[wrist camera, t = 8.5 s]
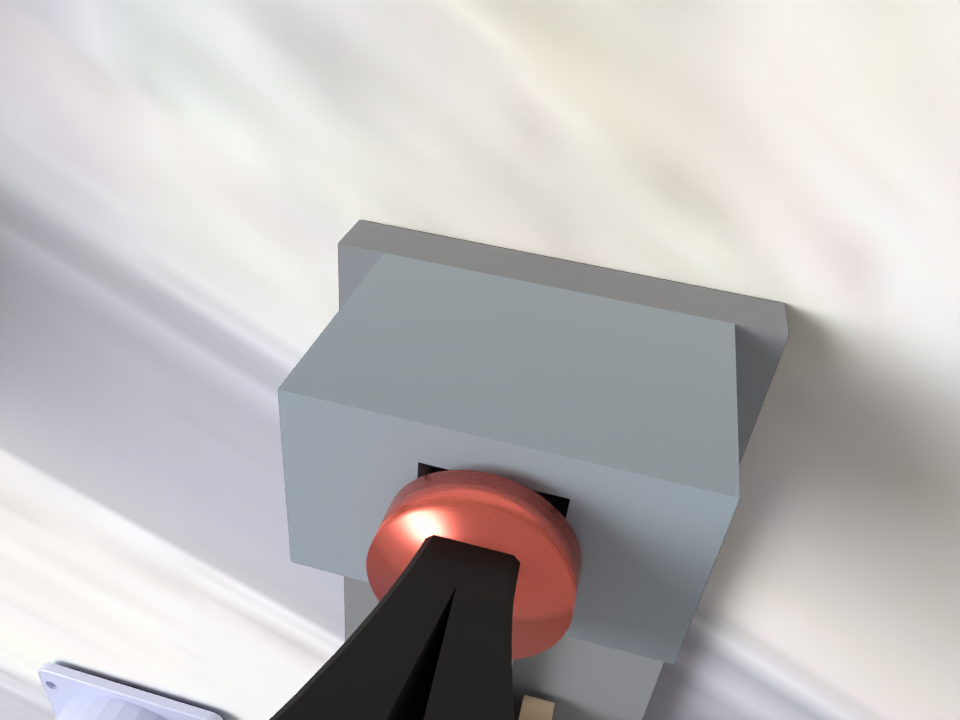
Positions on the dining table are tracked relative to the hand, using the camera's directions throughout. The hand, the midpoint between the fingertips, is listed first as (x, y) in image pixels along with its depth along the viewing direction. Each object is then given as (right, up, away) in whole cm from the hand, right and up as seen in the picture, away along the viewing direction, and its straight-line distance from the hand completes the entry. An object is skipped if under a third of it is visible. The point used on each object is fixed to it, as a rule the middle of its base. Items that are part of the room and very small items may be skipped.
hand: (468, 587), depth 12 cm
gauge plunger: (+1, +2, +3) cm, 4 cm away
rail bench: (+1, -4, +11) cm, 12 cm away
